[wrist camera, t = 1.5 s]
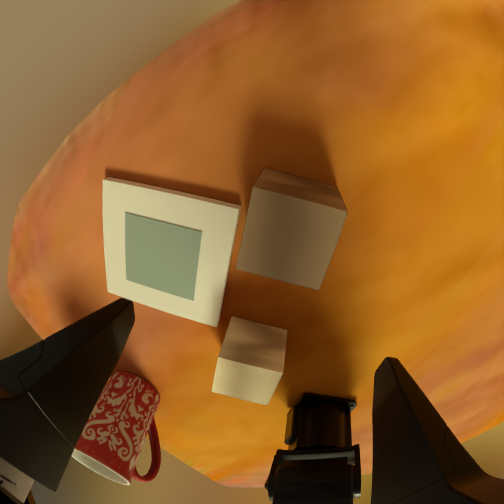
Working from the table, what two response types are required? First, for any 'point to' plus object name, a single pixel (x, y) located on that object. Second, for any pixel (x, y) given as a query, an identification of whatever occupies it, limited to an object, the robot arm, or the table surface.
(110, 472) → the mug
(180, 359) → the table surface
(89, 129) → the table surface
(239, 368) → the maple cube
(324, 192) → the walnut cube
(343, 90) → the table surface
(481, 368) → the table surface
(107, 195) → the plate
